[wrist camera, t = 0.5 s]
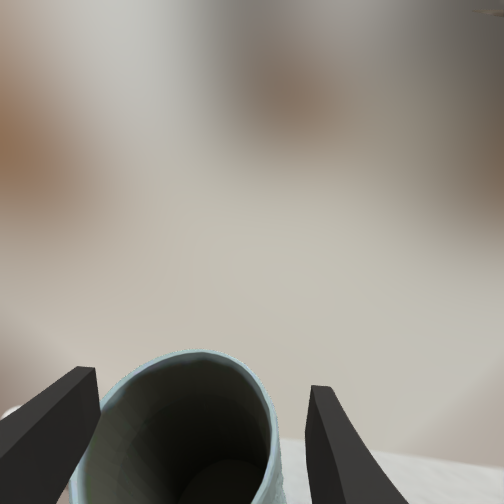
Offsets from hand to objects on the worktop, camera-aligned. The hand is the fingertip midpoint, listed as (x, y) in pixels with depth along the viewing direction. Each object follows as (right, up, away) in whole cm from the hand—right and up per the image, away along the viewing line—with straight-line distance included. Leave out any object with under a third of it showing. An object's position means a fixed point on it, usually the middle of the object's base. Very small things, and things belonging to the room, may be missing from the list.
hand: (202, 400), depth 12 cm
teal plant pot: (0, -13, +13) cm, 18 cm away
